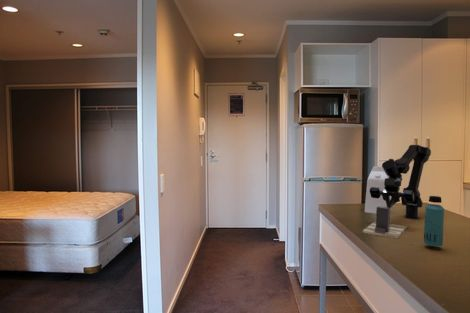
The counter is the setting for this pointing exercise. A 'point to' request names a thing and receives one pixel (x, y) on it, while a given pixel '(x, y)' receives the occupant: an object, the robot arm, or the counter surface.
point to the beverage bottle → (434, 223)
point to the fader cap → (383, 218)
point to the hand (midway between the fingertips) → (388, 208)
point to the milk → (375, 180)
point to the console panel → (392, 233)
